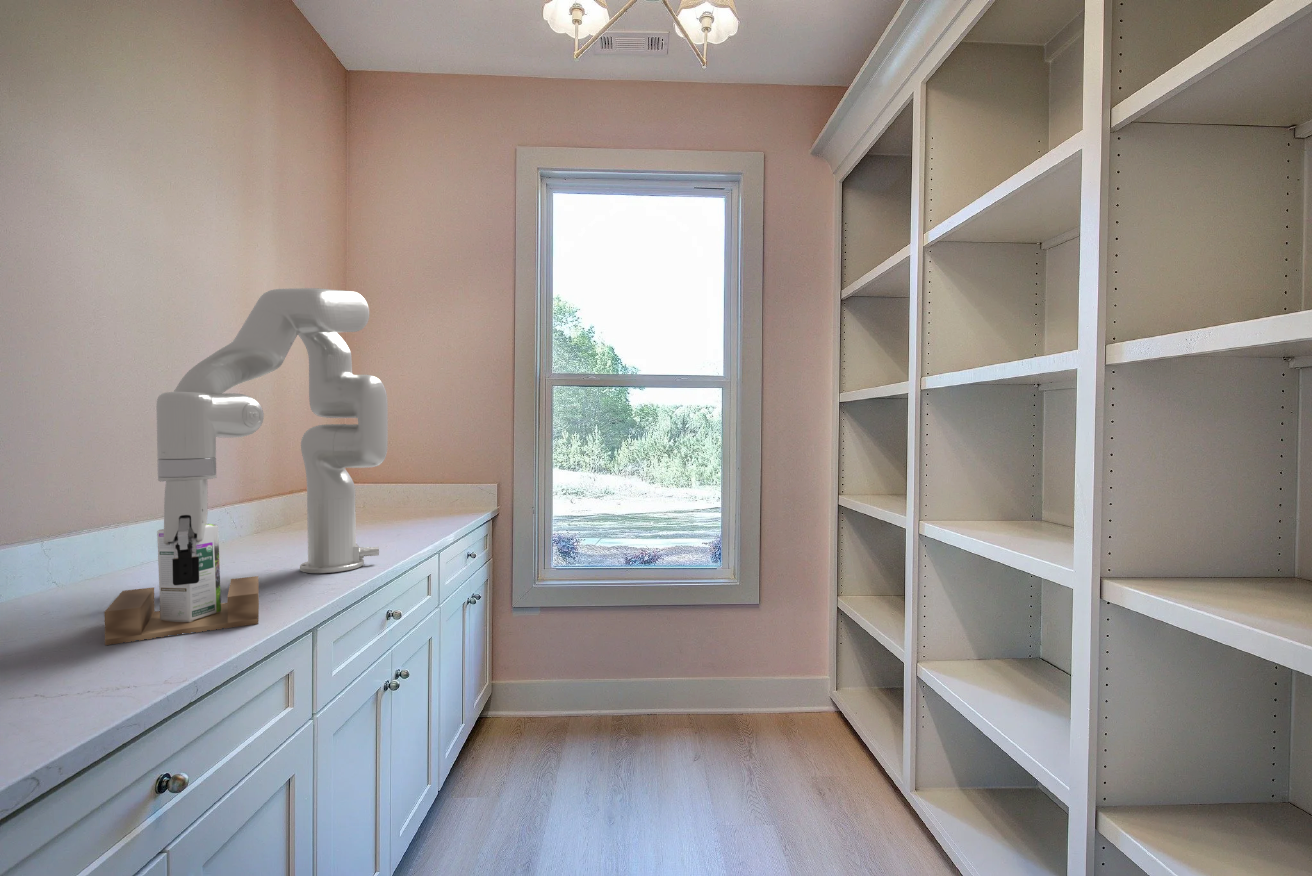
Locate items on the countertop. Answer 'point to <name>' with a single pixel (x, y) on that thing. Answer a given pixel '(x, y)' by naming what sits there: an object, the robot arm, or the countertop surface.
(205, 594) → the syrup box
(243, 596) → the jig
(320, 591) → the countertop surface
